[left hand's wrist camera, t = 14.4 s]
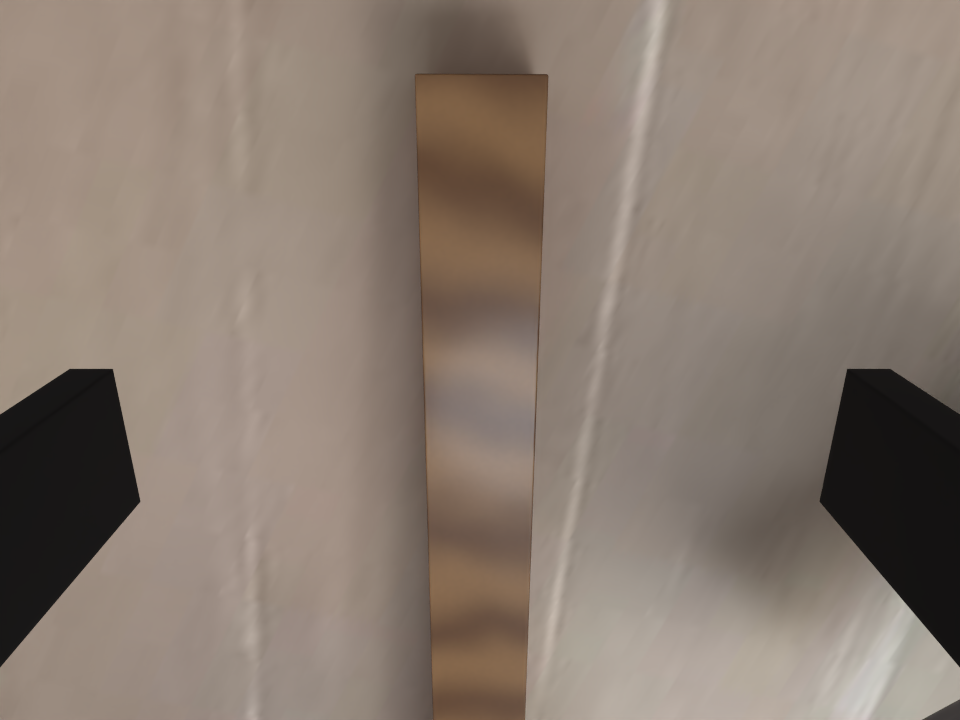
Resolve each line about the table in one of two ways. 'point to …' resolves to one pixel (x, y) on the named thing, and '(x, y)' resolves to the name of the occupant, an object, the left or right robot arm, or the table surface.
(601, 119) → the table surface
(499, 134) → the post
